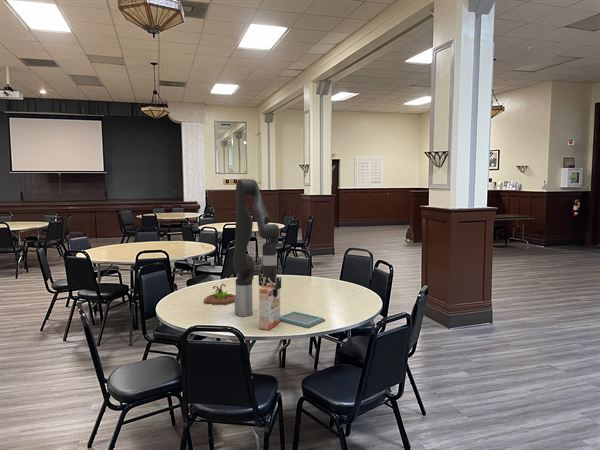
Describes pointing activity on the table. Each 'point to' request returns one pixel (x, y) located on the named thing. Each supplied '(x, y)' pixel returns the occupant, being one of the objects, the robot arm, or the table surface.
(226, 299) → the plant
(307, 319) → the baseplate
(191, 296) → the table surface
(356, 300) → the table surface
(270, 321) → the cracker box
